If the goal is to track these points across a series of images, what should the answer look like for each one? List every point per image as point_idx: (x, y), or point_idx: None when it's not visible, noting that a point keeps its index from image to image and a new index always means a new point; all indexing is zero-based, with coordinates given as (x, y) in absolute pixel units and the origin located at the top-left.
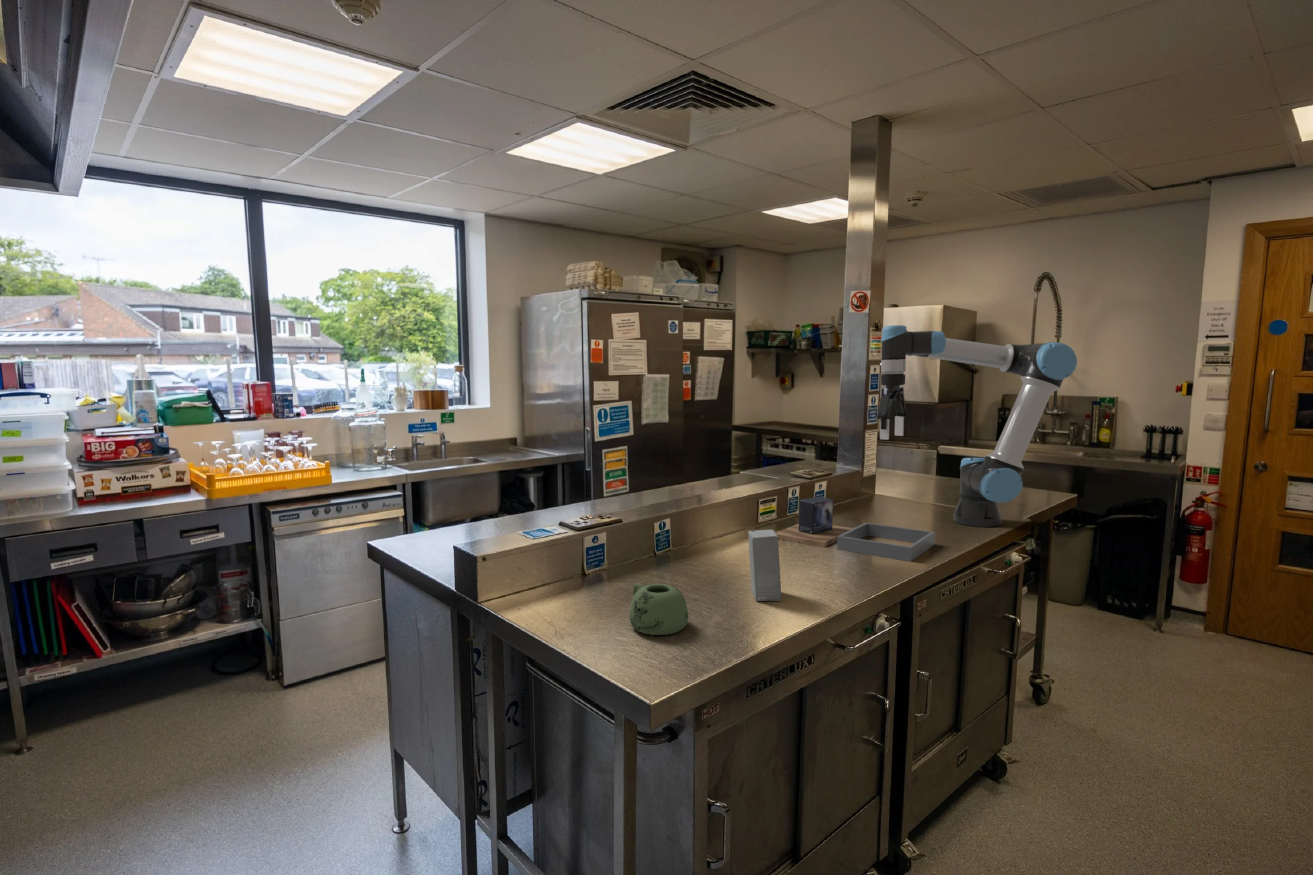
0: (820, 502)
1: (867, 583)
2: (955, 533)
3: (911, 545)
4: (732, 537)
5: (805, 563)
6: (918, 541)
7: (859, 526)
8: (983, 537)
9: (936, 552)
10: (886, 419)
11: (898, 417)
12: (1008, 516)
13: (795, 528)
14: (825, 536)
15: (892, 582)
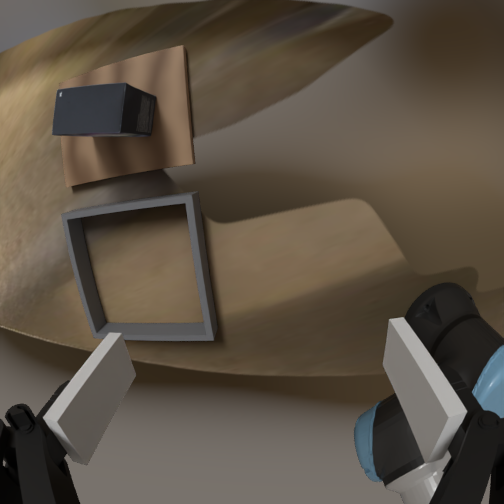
0: (72, 134)
1: (15, 311)
2: (330, 326)
3: (104, 335)
4: (39, 43)
5: (7, 217)
6: (132, 337)
7: (148, 204)
8: (327, 367)
9: (174, 342)
10: (64, 452)
11: (434, 434)
12: None
13: (112, 77)
14: (96, 161)
15: (34, 331)
